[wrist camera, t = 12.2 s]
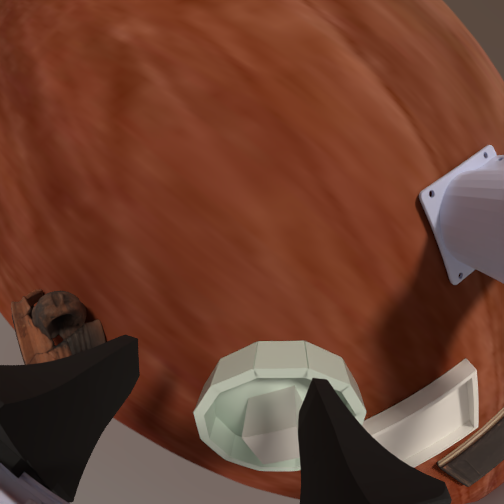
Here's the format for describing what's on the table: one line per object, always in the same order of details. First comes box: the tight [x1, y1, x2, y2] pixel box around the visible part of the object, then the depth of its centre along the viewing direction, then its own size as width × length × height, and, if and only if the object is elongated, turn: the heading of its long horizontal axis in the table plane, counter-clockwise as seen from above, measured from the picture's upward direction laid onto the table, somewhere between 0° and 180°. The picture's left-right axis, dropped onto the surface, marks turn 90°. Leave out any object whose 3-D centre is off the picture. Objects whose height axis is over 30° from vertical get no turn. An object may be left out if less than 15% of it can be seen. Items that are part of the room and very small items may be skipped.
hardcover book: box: [437, 407, 504, 487], centre depth 21 cm, size 16×23×2 cm
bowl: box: [194, 341, 366, 471], centre depth 19 cm, size 13×13×4 cm
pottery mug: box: [11, 289, 106, 365], centre depth 19 cm, size 12×10×8 cm
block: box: [242, 385, 303, 464], centre depth 18 cm, size 4×4×5 cm
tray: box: [362, 358, 478, 468], centre depth 20 cm, size 14×12×2 cm
